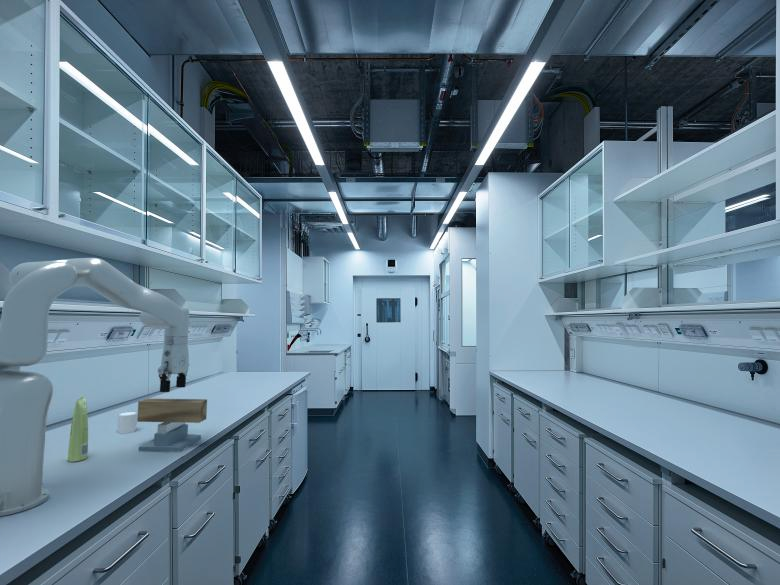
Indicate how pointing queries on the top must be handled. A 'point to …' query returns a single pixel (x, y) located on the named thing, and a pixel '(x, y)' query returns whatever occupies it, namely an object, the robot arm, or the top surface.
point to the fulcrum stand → (170, 438)
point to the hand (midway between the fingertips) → (173, 389)
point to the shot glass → (127, 422)
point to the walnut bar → (172, 410)
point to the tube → (79, 432)
